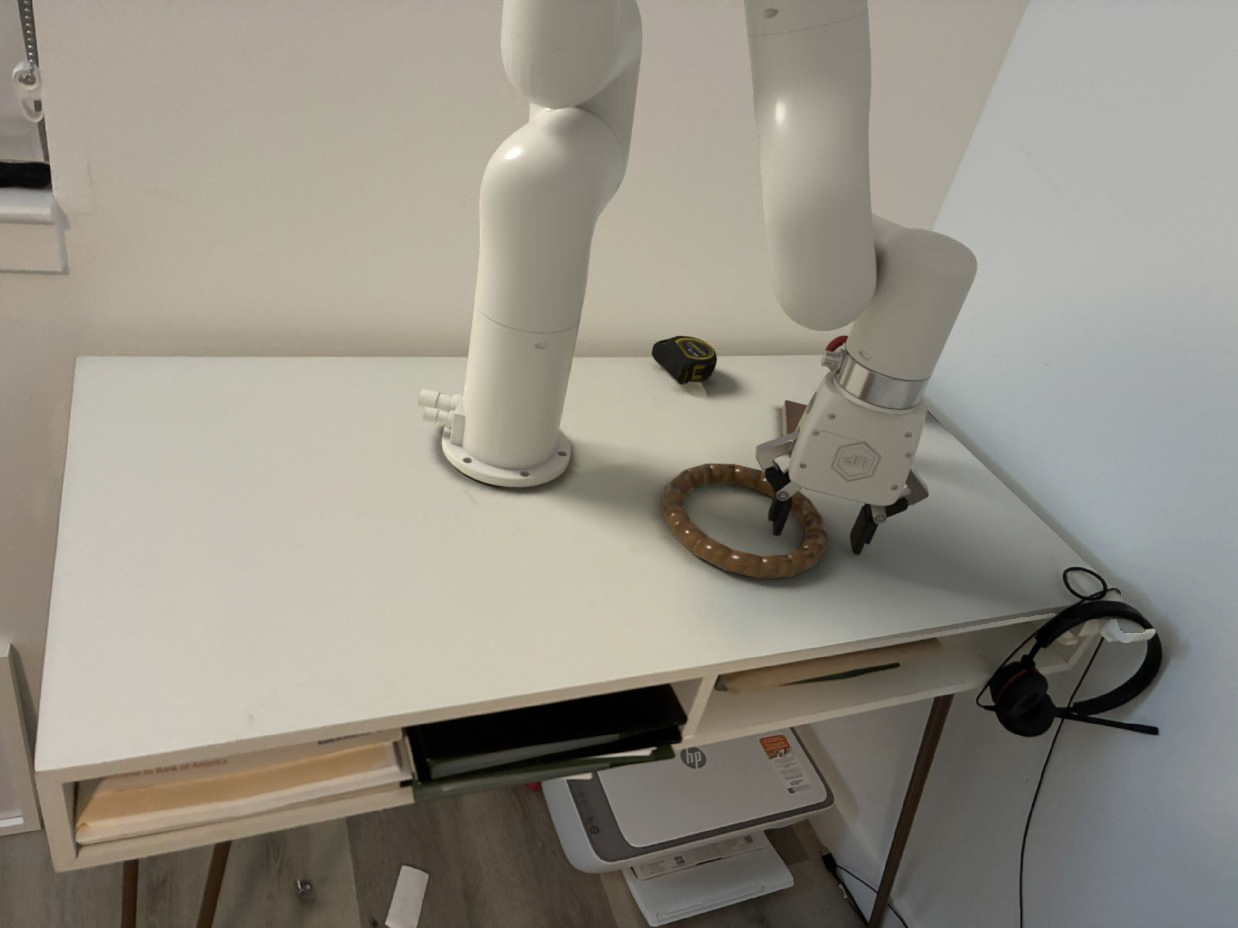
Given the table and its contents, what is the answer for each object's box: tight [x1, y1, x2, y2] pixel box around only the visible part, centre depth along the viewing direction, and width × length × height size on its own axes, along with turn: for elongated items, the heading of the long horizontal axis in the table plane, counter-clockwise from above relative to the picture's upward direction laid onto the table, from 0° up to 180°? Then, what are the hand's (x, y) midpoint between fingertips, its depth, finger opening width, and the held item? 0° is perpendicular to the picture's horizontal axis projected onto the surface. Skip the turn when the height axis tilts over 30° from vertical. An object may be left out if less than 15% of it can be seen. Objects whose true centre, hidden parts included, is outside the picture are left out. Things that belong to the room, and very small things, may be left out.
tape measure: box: [651, 335, 718, 386], centre depth 110 cm, size 7×7×4 cm
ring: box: [661, 462, 828, 579], centre depth 88 cm, size 16×16×2 cm
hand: (815, 535), depth 88 cm, fingers open, 7 cm apart
